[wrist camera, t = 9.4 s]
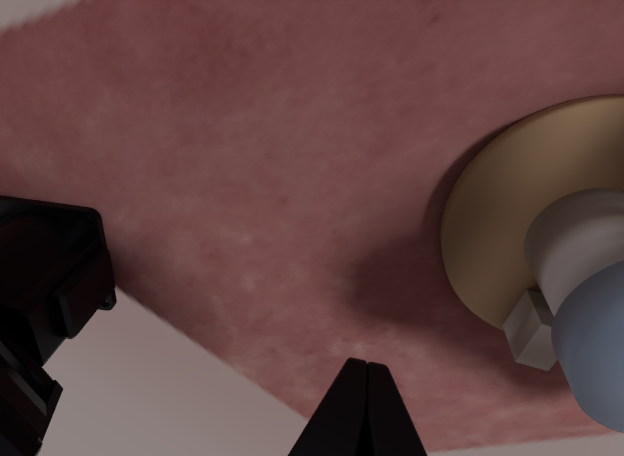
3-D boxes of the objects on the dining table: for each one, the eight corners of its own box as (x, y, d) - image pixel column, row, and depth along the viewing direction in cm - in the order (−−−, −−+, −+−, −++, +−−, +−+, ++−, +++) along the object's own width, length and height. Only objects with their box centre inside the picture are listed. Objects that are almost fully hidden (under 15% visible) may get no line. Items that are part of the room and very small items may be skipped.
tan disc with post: (417, 310, 24) (428, 409, 19) (477, 78, 18) (519, 128, 13) (654, 344, 23) (735, 457, 18) (803, 113, 17) (993, 183, 12)
